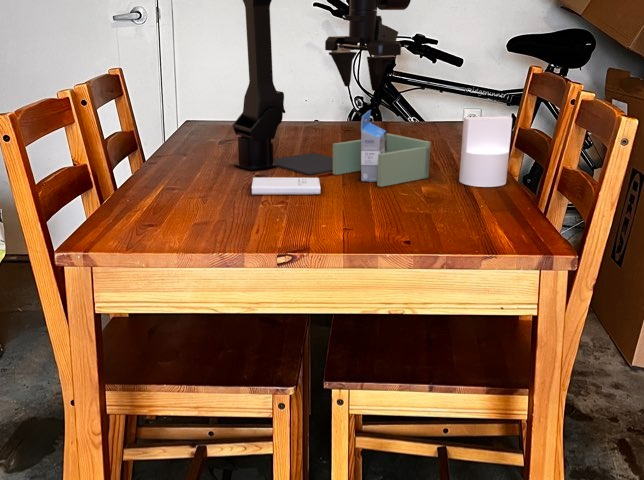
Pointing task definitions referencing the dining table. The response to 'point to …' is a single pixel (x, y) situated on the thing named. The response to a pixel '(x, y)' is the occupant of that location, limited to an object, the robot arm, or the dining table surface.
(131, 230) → the dining table surface
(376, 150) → the label tape box
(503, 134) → the cylinder with rectangular tab
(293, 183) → the hard drive
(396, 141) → the u-shaped bracket
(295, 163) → the mat
